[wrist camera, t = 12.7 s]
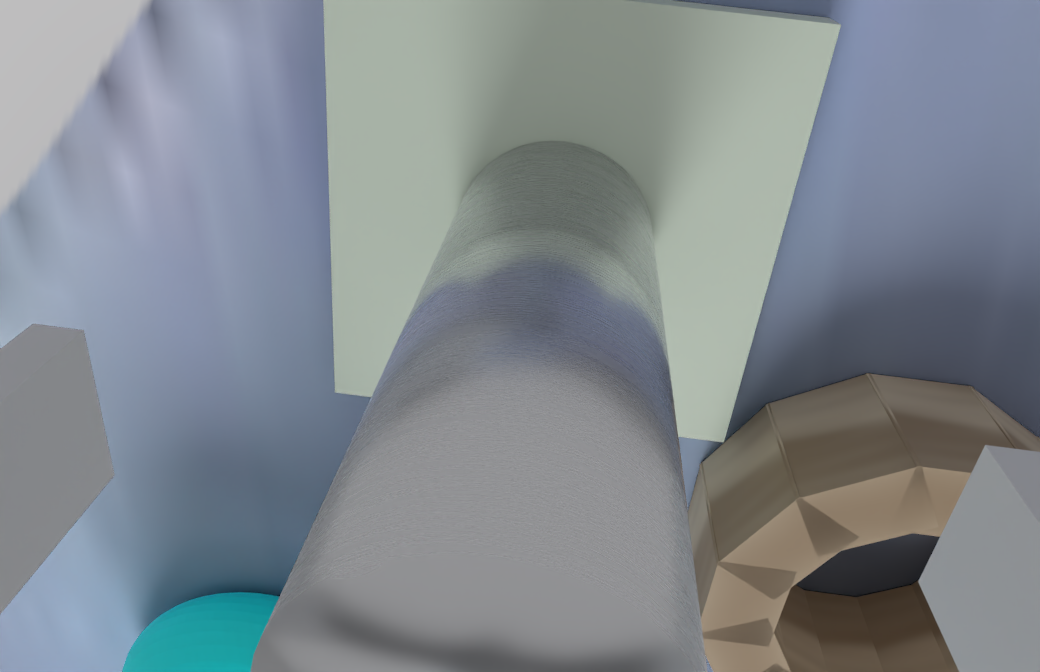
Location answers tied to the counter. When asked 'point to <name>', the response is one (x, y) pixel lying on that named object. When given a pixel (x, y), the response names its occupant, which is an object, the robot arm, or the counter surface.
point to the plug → (512, 455)
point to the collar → (833, 521)
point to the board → (576, 119)
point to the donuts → (204, 635)
